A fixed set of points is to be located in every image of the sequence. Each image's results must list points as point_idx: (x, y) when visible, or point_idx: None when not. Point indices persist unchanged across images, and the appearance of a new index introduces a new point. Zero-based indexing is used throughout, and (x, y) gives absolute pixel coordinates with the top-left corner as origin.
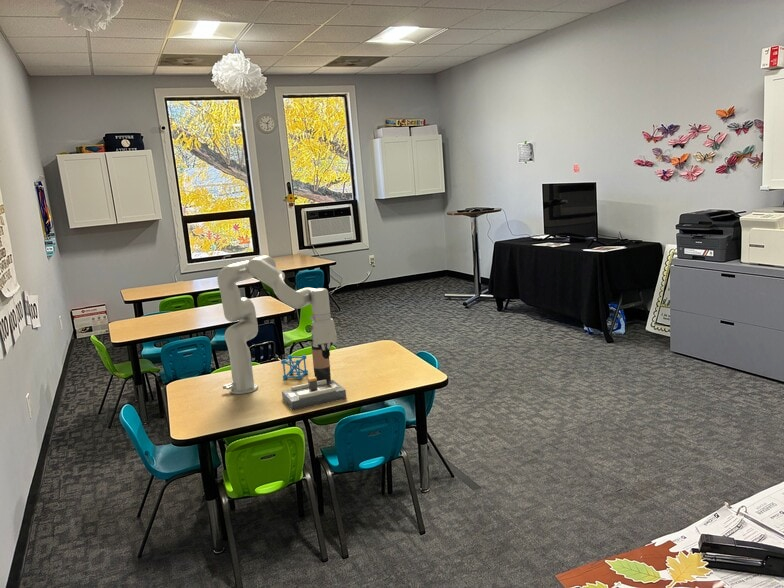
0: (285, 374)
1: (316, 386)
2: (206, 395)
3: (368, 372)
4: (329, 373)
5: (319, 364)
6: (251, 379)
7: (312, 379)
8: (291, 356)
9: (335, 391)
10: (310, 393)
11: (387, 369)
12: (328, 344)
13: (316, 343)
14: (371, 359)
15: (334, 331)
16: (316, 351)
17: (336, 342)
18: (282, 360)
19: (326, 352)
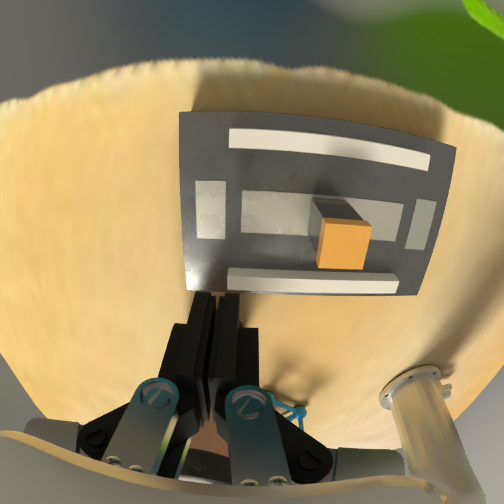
0: (299, 418)
1: (319, 206)
2: (462, 382)
3: (64, 322)
4: None
5: None
6: (412, 401)
7: (353, 223)
8: None
9: (237, 118)
10: (380, 143)
11: (22, 306)
12: (144, 446)
13: (429, 491)
14: (63, 383)
15: None
16: (225, 448)
17: (34, 418)
18: None
19: (213, 349)
